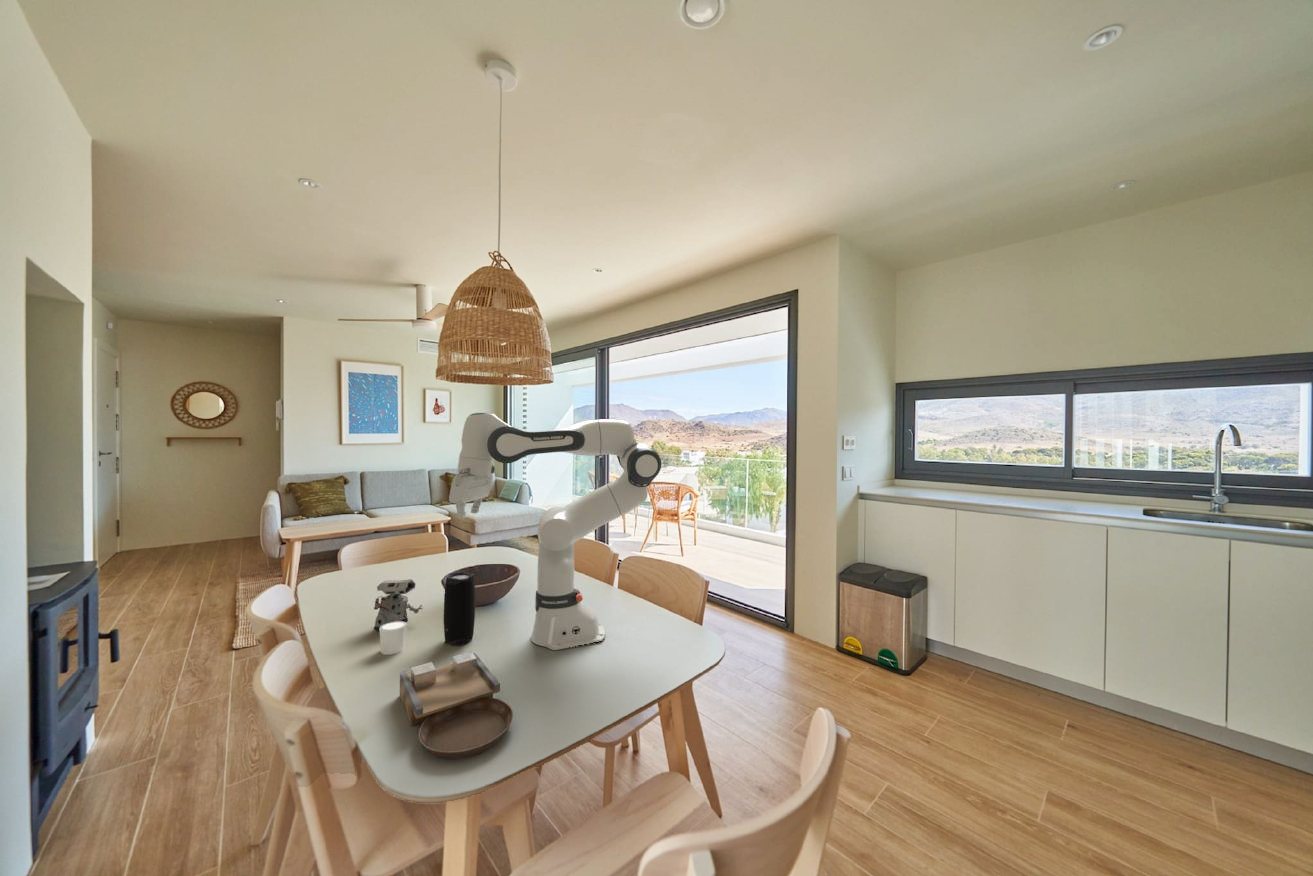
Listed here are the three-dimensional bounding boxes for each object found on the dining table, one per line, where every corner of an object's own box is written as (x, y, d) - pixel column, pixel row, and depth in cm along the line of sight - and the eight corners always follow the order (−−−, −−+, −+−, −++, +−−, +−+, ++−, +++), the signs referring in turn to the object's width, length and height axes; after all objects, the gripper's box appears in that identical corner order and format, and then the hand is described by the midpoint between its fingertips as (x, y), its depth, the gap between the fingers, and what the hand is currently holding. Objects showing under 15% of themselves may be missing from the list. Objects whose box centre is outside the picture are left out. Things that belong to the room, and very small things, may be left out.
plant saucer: (511, 756, 87) (512, 740, 87) (408, 775, 82) (409, 758, 82) (513, 705, 104) (513, 691, 104) (428, 717, 99) (428, 703, 99)
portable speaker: (447, 650, 130) (448, 581, 130) (440, 638, 138) (441, 573, 138) (478, 642, 135) (479, 576, 135) (469, 631, 143) (470, 569, 143)
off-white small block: (410, 680, 105) (411, 667, 105) (431, 674, 108) (431, 662, 108) (414, 688, 102) (414, 675, 102) (435, 682, 105) (436, 669, 105)
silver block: (452, 669, 111) (452, 656, 111) (470, 663, 114) (471, 651, 114) (457, 676, 108) (457, 663, 108) (476, 670, 110) (476, 658, 110)
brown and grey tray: (399, 695, 107) (400, 672, 107) (474, 673, 117) (474, 652, 117) (415, 736, 92) (416, 709, 92) (499, 707, 103) (500, 683, 103)
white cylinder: (394, 657, 125) (394, 631, 126) (372, 654, 127) (373, 629, 127) (412, 646, 132) (412, 622, 132) (391, 643, 134) (392, 619, 134)
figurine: (399, 635, 139) (400, 586, 139) (370, 630, 143) (371, 582, 143) (422, 624, 148) (423, 578, 148) (394, 619, 151) (395, 574, 151)
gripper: (470, 471, 121) (463, 522, 121) (497, 467, 141) (491, 511, 141) (446, 468, 121) (439, 519, 121) (477, 464, 141) (471, 509, 141)
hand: (467, 515), depth 131 cm, fingers open, 8 cm apart
